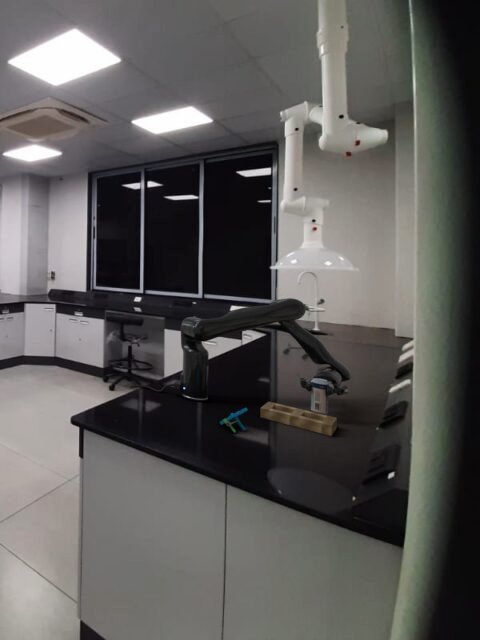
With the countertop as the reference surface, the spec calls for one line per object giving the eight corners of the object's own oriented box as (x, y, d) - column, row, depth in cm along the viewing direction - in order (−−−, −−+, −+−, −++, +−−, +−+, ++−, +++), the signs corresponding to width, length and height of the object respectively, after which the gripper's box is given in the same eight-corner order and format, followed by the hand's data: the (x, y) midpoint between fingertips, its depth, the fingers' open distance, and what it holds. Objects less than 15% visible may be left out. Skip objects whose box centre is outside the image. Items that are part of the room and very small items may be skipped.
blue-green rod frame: (229, 415, 143) (250, 402, 136) (242, 431, 140) (264, 419, 133) (210, 424, 138) (230, 412, 131) (223, 441, 135) (245, 429, 128)
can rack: (260, 417, 147) (260, 407, 147) (268, 410, 154) (268, 401, 154) (331, 436, 132) (331, 425, 132) (336, 427, 139) (337, 417, 139)
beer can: (331, 415, 144) (332, 382, 144) (316, 414, 145) (316, 381, 145) (322, 410, 149) (323, 378, 149) (307, 409, 150) (308, 377, 150)
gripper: (303, 367, 162) (293, 375, 151) (352, 376, 151) (345, 385, 140) (302, 386, 162) (293, 395, 151) (351, 396, 151) (345, 406, 140)
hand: (318, 390), depth 145 cm, fingers closed on beer can, 4 cm apart
